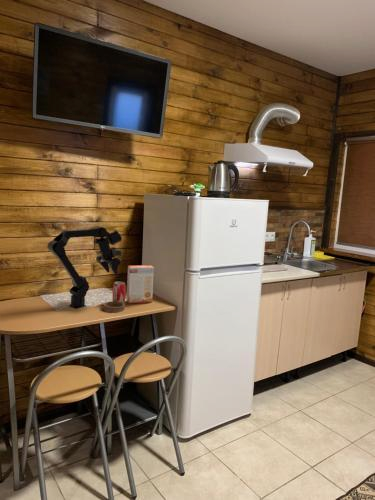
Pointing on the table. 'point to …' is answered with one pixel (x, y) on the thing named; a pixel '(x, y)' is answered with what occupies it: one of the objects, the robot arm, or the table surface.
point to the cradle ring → (118, 308)
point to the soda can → (119, 292)
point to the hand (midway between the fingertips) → (112, 273)
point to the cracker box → (140, 284)
